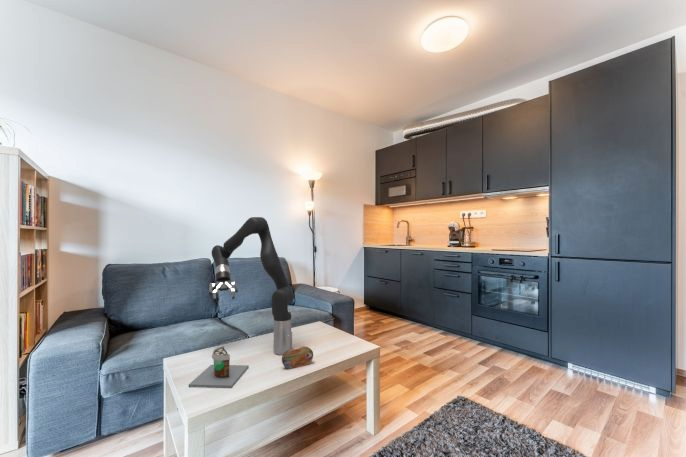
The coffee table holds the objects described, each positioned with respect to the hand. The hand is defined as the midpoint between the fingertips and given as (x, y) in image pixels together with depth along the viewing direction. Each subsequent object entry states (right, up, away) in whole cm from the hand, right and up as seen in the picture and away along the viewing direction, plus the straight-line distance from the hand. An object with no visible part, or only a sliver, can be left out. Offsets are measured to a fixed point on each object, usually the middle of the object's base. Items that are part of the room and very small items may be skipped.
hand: (224, 299), depth 150 cm
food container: (+8, -27, -24) cm, 37 cm away
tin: (+40, -28, -14) cm, 51 cm away
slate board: (+8, -28, -24) cm, 38 cm away
